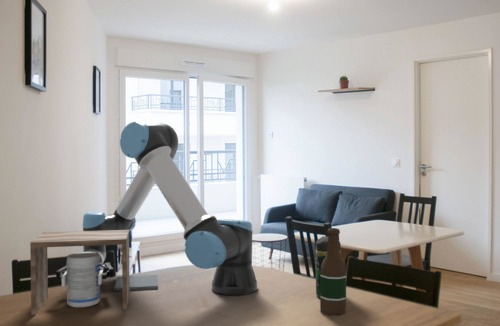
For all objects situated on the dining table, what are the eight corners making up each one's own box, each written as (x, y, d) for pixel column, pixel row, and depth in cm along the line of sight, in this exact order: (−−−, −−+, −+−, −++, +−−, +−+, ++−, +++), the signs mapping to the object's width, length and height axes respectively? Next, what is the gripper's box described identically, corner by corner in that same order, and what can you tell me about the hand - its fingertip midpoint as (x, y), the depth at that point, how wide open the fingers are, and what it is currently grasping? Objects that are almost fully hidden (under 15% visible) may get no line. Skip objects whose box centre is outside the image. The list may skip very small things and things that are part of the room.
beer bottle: (340, 318, 135) (341, 232, 134) (314, 313, 139) (315, 229, 138) (350, 310, 141) (351, 228, 141) (325, 305, 146) (326, 225, 145)
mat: (157, 288, 162) (157, 285, 162) (114, 291, 159) (114, 288, 159) (157, 277, 176) (157, 274, 176) (117, 279, 173) (117, 276, 173)
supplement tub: (104, 304, 146) (104, 256, 145) (71, 310, 140) (70, 260, 140) (95, 296, 154) (94, 250, 153) (63, 301, 149) (63, 253, 148)
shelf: (126, 309, 142) (126, 239, 141) (31, 315, 137) (30, 242, 136) (129, 292, 158) (129, 229, 157) (43, 297, 152) (42, 232, 152)
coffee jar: (315, 290, 161) (315, 234, 160) (339, 291, 160) (340, 235, 159) (315, 299, 151) (315, 240, 151) (341, 300, 150) (341, 240, 150)
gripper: (124, 272, 167) (120, 291, 145) (56, 275, 162) (41, 295, 141) (124, 250, 167) (120, 266, 145) (56, 253, 162) (40, 270, 140)
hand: (81, 280), depth 143 cm, fingers closed on supplement tub, 9 cm apart
